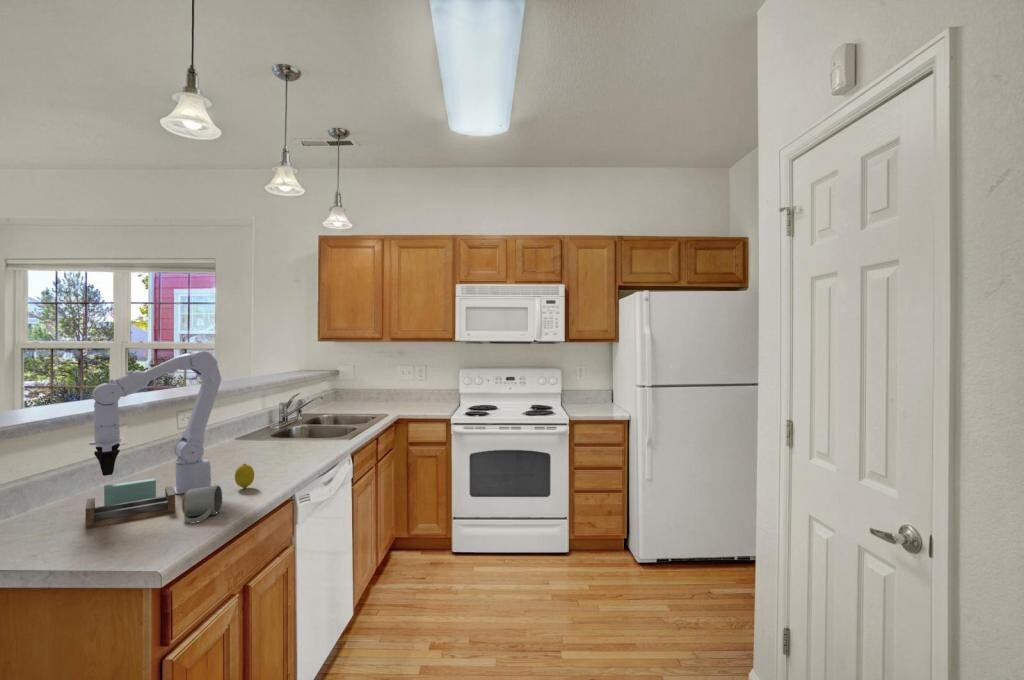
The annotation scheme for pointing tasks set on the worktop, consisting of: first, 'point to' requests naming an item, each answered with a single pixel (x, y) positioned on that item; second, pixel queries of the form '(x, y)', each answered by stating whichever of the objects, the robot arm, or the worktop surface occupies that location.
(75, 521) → the worktop surface
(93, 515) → the track board
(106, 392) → the robot arm
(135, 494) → the long teal rectangular block
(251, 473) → the lemon
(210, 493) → the ceramic mug
